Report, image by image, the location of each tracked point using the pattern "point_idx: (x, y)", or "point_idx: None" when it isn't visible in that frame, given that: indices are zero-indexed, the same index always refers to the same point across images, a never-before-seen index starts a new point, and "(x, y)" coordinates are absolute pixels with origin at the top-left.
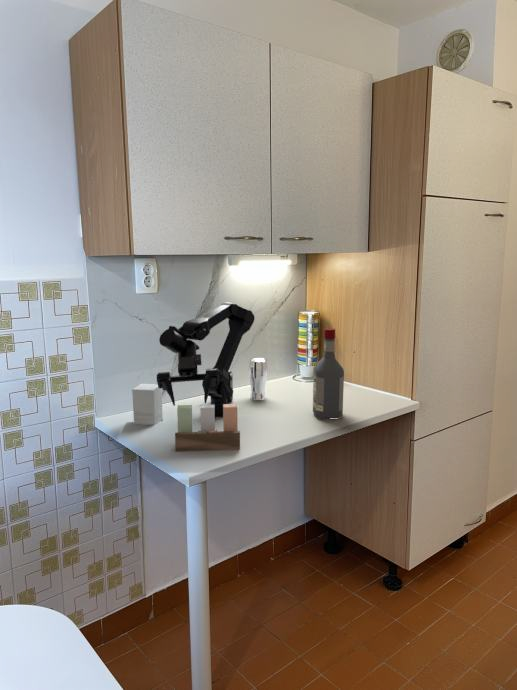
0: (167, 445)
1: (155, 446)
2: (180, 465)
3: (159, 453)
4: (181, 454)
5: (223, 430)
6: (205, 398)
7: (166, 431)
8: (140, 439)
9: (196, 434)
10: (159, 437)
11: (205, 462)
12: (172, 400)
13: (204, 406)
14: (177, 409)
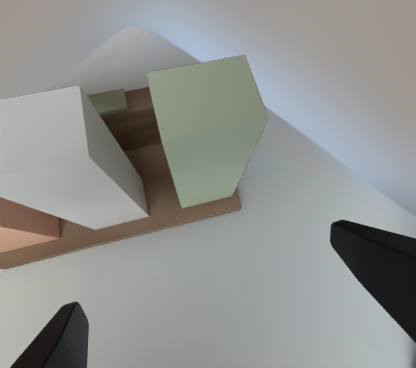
0: (268, 190)
1: (303, 176)
2: (176, 63)
3: (265, 126)
4: None
5: (27, 209)
6: (52, 328)
7: (339, 343)
8: (388, 229)
9: (131, 92)
10: (332, 263)
11: (111, 88)
12: (372, 228)
13: (50, 121)
14: (242, 59)
